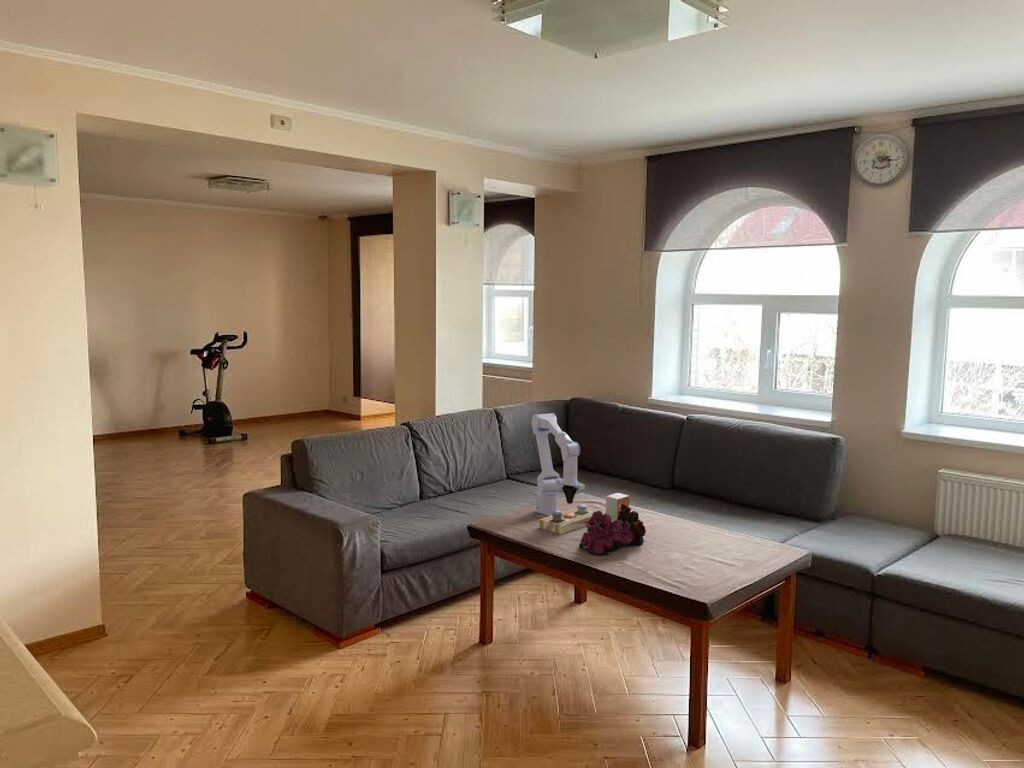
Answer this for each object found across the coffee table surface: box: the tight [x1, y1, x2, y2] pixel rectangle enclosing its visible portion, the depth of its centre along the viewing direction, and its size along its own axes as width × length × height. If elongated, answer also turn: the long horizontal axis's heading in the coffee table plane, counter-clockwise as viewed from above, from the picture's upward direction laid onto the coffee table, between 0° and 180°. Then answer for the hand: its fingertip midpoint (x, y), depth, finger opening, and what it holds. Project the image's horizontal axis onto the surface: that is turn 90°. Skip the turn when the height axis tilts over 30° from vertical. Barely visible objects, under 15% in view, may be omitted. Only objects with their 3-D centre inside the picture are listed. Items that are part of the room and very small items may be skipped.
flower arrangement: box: [578, 504, 647, 557], centre depth 286 cm, size 31×20×15 cm, turn 140°
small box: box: [605, 492, 630, 522], centre depth 309 cm, size 8×6×13 cm
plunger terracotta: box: [564, 513, 575, 519], centre depth 311 cm, size 4×4×4 cm
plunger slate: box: [576, 503, 588, 515], centre depth 317 cm, size 4×4×4 cm
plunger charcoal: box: [552, 512, 562, 523], centre depth 305 cm, size 4×4×4 cm
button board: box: [539, 507, 595, 535], centre depth 311 cm, size 12×24×4 cm, turn 135°
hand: (569, 503), depth 310 cm, fingers closed
